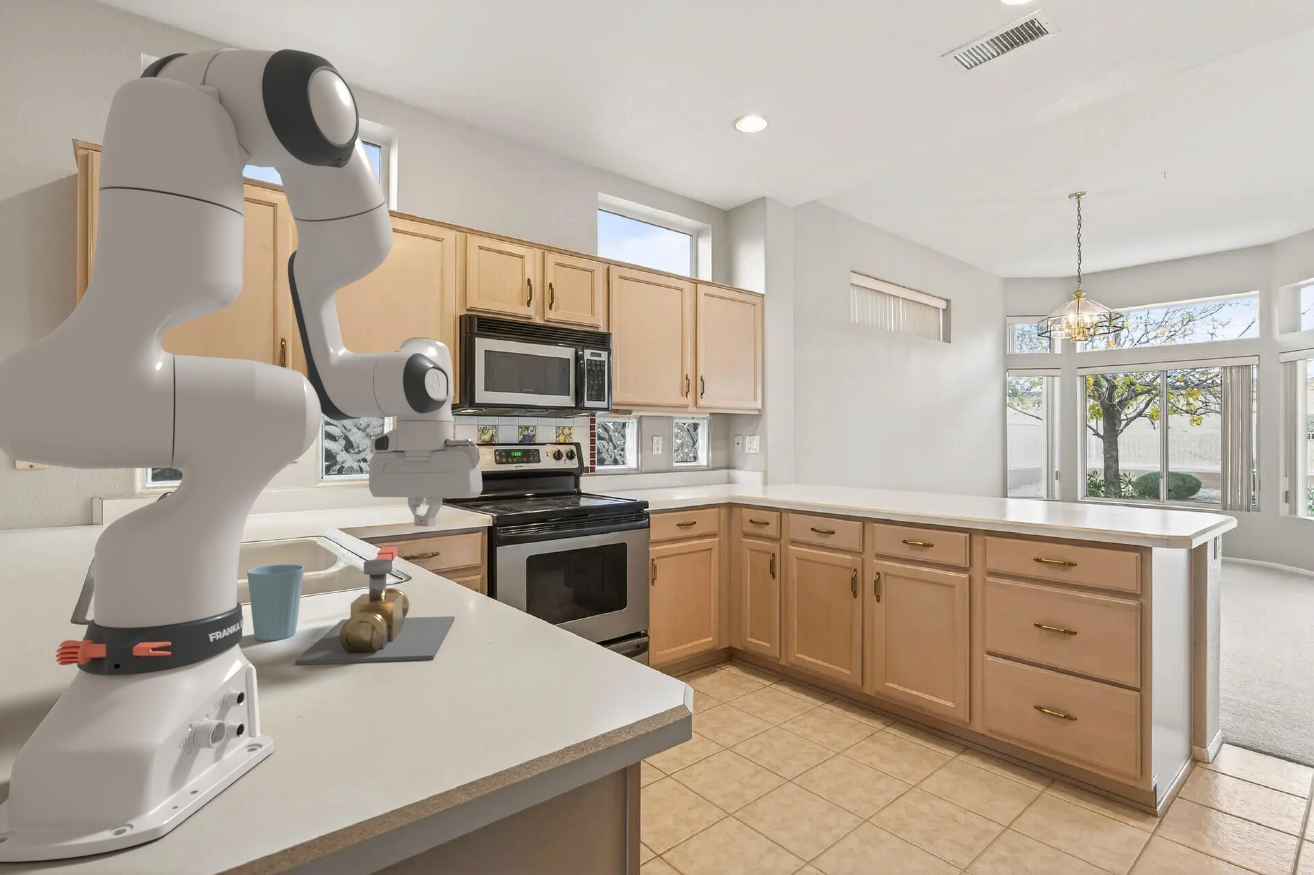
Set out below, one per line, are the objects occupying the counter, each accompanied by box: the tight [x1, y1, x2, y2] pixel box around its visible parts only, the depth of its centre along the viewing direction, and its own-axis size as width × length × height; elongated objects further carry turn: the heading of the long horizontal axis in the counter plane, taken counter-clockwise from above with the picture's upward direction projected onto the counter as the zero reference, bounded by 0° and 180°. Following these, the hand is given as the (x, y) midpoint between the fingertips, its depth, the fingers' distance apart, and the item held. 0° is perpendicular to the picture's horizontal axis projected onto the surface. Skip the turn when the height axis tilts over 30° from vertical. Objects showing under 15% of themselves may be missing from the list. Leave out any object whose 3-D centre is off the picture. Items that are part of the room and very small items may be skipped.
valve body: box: [340, 574, 410, 654], centre depth 100 cm, size 16×6×10 cm, turn 9°
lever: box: [363, 545, 398, 576], centre depth 106 cm, size 16×4×2 cm, turn 16°
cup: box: [246, 563, 305, 642], centre depth 101 cm, size 8×8×10 cm
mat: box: [294, 616, 455, 666], centre depth 100 cm, size 20×18×1 cm
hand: (424, 526), depth 105 cm, fingers closed
